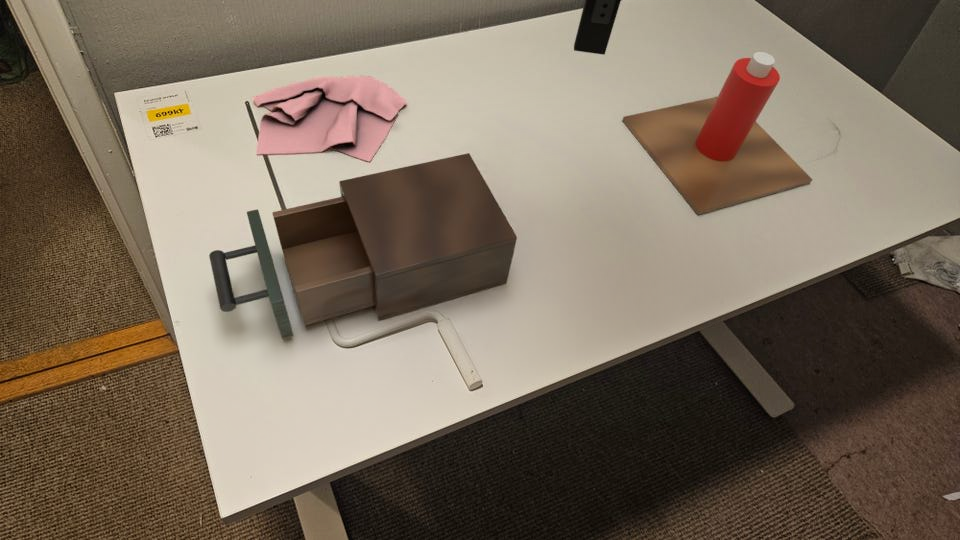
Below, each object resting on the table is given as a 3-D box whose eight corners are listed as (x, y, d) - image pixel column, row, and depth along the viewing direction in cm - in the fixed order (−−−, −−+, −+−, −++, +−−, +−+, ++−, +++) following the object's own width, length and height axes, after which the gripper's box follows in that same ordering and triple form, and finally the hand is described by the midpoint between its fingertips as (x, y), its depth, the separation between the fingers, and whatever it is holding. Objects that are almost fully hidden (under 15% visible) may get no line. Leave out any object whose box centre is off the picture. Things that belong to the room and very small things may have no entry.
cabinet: (378, 321, 67) (375, 275, 60) (345, 231, 74) (339, 180, 67) (506, 283, 72) (517, 237, 65) (463, 202, 79) (469, 152, 72)
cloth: (424, 99, 90) (424, 85, 88) (343, 192, 78) (342, 178, 76) (307, 54, 94) (305, 40, 92) (212, 136, 81) (207, 121, 80)
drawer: (234, 353, 62) (218, 318, 57) (215, 261, 69) (198, 221, 63) (414, 301, 68) (414, 265, 63) (380, 221, 74) (378, 182, 69)
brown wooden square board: (809, 183, 88) (812, 179, 87) (697, 215, 82) (700, 211, 81) (727, 98, 98) (729, 93, 97) (622, 120, 92) (623, 116, 91)
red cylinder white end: (744, 156, 89) (797, 68, 77) (711, 165, 87) (760, 76, 75) (720, 130, 92) (767, 41, 80) (687, 137, 90) (731, 48, 78)
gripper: (600, -338, 48) (549, -60, 65) (618, -247, 33) (545, 84, 50) (694, -323, 48) (619, -50, 65) (755, -226, 33) (636, 96, 50)
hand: (587, 8), depth 57 cm, fingers open, 13 cm apart
